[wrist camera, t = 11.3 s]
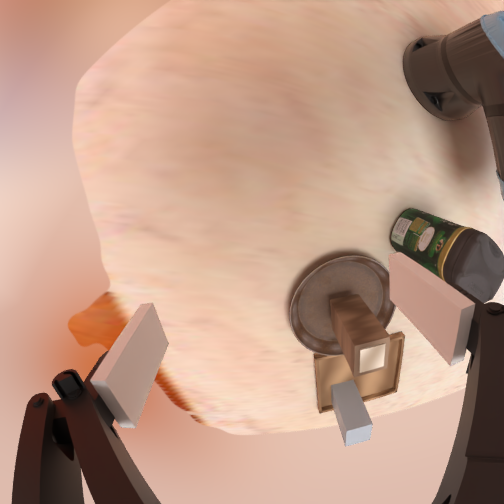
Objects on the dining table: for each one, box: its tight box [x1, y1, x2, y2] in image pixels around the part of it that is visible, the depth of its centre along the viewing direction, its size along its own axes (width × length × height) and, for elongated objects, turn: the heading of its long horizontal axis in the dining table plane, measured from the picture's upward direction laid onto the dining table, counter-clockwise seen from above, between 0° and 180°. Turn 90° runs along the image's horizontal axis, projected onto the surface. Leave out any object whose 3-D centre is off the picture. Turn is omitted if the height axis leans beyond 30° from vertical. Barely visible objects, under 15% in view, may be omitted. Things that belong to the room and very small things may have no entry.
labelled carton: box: [330, 294, 390, 377], centre depth 36 cm, size 4×5×12 cm
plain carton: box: [331, 380, 372, 446], centre depth 44 cm, size 4×5×12 cm
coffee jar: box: [391, 209, 504, 303], centre depth 33 cm, size 10×8×19 cm
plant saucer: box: [290, 256, 396, 356], centre depth 44 cm, size 18×18×3 cm
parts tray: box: [314, 331, 405, 413], centre depth 48 cm, size 17×15×2 cm
